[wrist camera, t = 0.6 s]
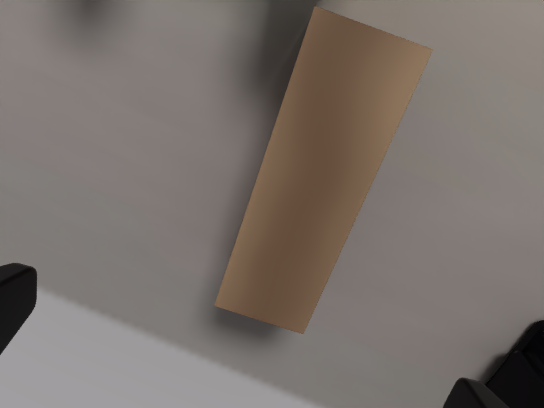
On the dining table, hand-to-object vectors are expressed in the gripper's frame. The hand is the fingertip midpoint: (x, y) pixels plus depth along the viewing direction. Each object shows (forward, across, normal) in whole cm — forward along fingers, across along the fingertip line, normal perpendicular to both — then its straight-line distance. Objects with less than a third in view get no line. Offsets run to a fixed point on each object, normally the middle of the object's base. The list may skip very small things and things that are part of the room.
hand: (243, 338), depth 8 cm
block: (+11, -1, -1) cm, 11 cm away
